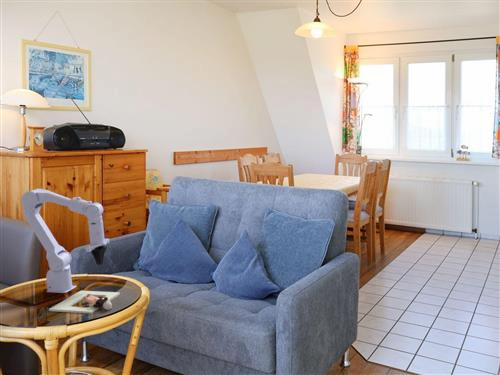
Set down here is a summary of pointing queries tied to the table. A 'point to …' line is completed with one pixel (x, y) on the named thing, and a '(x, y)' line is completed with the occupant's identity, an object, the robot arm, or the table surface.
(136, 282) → the table surface
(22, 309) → the table surface
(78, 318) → the table surface
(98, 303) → the grandmother figurine
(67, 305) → the pale rectangular frame
